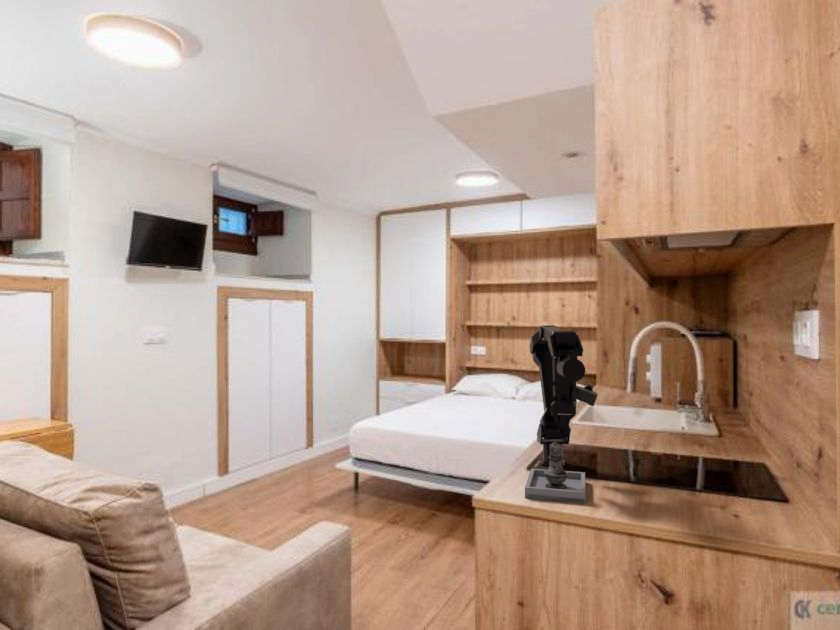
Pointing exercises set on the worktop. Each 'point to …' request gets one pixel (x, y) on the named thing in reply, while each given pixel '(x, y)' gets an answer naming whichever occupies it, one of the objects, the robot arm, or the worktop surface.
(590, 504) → the worktop surface
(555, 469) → the grey tall rounded piece
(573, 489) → the grey tray
